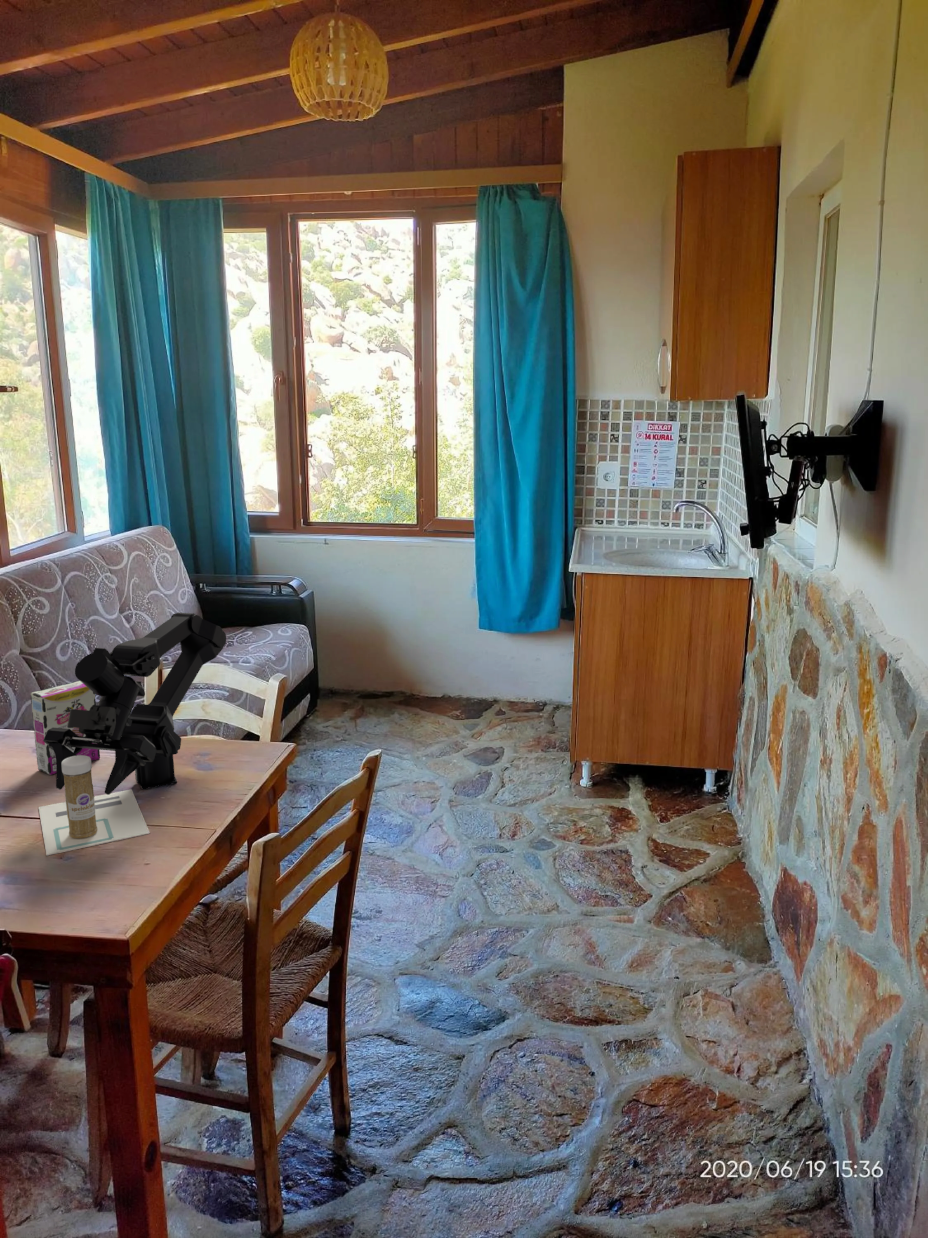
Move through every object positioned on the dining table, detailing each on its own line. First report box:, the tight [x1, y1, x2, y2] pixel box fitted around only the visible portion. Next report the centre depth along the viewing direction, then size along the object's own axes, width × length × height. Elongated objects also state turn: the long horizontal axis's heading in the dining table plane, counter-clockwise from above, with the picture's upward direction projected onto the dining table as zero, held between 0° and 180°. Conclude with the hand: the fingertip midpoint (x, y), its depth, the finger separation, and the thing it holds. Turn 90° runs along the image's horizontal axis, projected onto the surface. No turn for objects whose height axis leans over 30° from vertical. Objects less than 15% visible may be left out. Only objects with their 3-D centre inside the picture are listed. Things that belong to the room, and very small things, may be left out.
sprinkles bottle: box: [61, 755, 97, 838], centre depth 146 cm, size 5×5×14 cm
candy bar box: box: [29, 680, 101, 776], centre depth 175 cm, size 11×5×16 cm, turn 144°
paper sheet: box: [38, 789, 151, 857], centre depth 153 cm, size 16×20×1 cm
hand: (82, 791), depth 147 cm, fingers open, 9 cm apart
